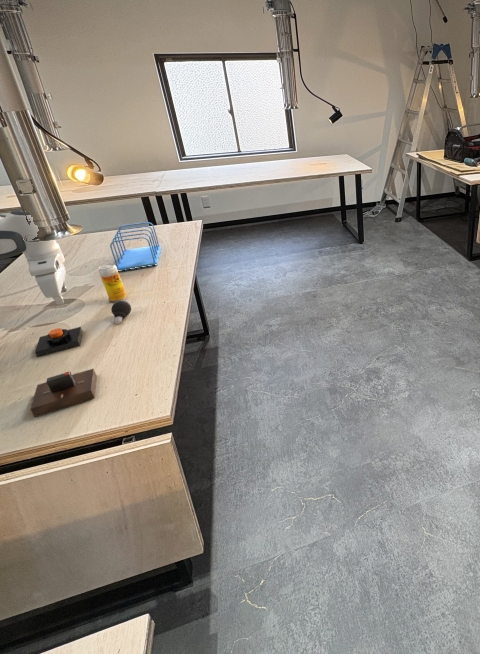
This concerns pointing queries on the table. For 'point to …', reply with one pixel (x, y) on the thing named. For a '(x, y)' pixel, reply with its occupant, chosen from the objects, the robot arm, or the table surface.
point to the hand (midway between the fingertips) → (62, 297)
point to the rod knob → (60, 381)
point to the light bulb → (120, 310)
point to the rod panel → (64, 394)
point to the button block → (59, 342)
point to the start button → (56, 333)
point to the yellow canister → (112, 282)
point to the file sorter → (136, 250)
